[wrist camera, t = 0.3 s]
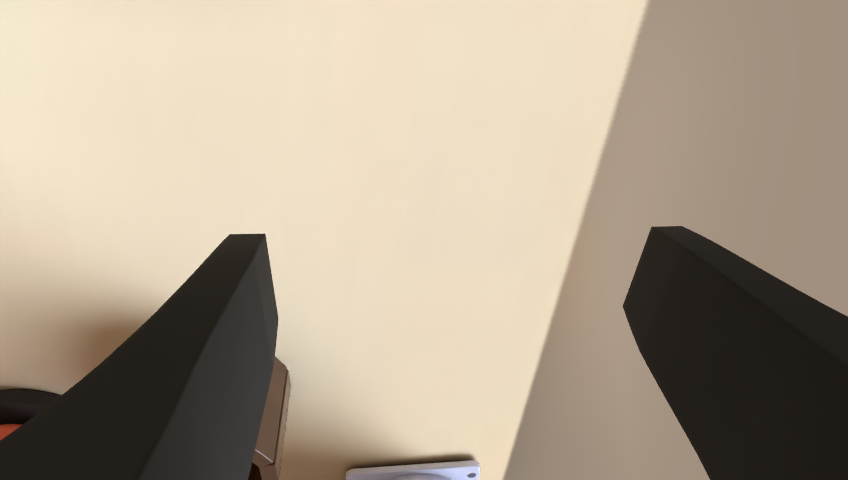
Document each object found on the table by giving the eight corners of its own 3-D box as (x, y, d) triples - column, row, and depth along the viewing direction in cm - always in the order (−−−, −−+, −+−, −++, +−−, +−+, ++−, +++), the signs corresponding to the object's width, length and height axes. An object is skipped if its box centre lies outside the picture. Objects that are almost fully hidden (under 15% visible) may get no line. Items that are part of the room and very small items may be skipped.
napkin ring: (294, 410, 27) (284, 505, 23) (190, 416, 27) (161, 515, 23) (283, 340, 24) (269, 436, 20) (166, 345, 24) (127, 445, 20)
